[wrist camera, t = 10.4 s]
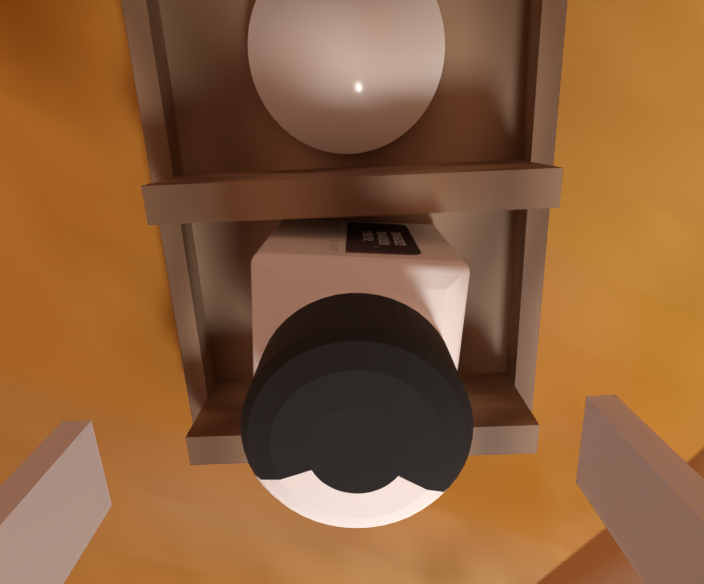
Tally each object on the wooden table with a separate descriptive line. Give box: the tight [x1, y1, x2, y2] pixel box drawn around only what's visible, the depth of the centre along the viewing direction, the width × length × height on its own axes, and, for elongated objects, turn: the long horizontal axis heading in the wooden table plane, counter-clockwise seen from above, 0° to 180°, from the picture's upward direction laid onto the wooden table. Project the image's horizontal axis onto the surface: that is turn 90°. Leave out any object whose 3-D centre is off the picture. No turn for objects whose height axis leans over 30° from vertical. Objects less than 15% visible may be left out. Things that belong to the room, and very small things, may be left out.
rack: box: [121, 0, 567, 465], centre depth 22 cm, size 18×24×6 cm
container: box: [240, 219, 474, 528], centre depth 19 cm, size 8×8×13 cm
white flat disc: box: [248, 0, 445, 154], centre depth 21 cm, size 8×8×1 cm
